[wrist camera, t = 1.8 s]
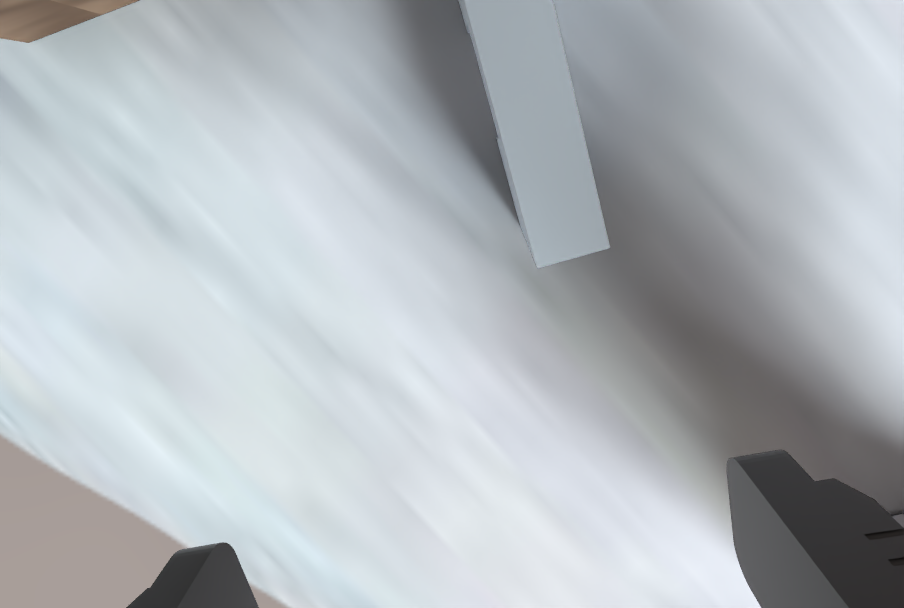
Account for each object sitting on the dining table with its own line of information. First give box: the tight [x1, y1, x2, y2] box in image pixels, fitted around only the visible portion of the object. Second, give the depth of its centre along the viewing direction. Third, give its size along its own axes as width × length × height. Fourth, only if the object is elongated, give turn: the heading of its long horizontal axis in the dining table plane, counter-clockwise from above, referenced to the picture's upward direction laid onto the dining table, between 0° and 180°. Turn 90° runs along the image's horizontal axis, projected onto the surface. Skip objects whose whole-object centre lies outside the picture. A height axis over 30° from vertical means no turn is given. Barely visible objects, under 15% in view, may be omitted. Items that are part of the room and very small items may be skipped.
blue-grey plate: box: [458, 0, 610, 269], centre depth 21 cm, size 13×2×8 cm, turn 17°
